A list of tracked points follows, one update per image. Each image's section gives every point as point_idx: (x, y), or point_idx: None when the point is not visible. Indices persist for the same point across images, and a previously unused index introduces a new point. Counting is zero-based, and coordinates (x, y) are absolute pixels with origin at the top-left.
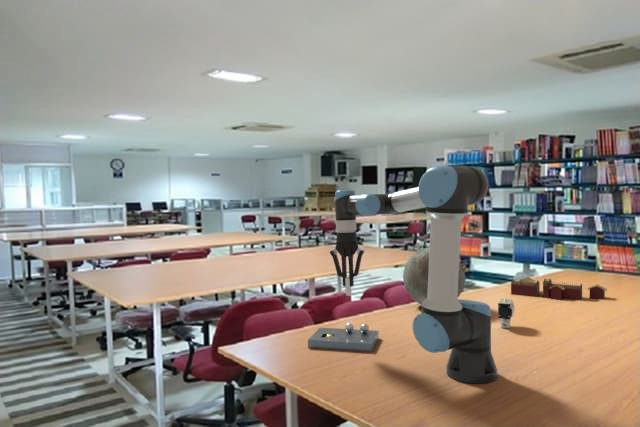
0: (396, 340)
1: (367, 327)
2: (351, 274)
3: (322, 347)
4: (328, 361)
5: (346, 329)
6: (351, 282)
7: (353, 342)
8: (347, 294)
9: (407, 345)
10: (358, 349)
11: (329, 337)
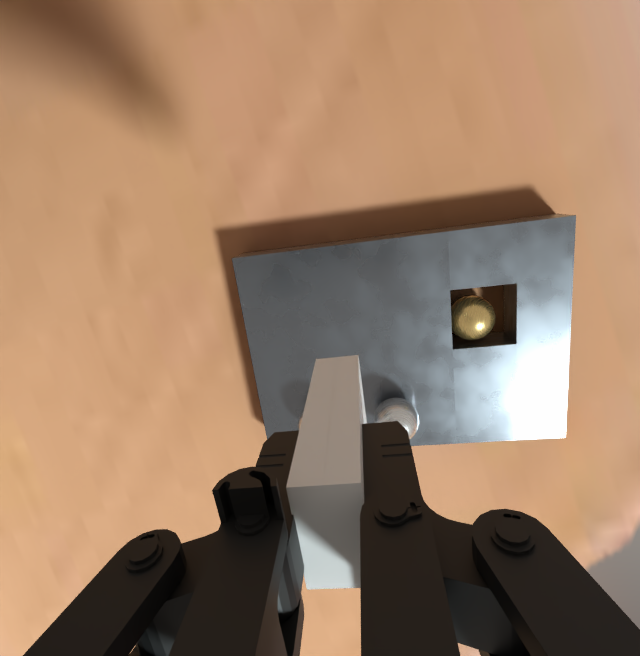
0: (202, 427)
1: (299, 420)
2: (225, 552)
3: (478, 223)
4: (387, 43)
5: (405, 400)
6: (276, 464)
7: (319, 250)
8: (340, 362)
9: (142, 379)
10: (299, 247)
11: (469, 304)
